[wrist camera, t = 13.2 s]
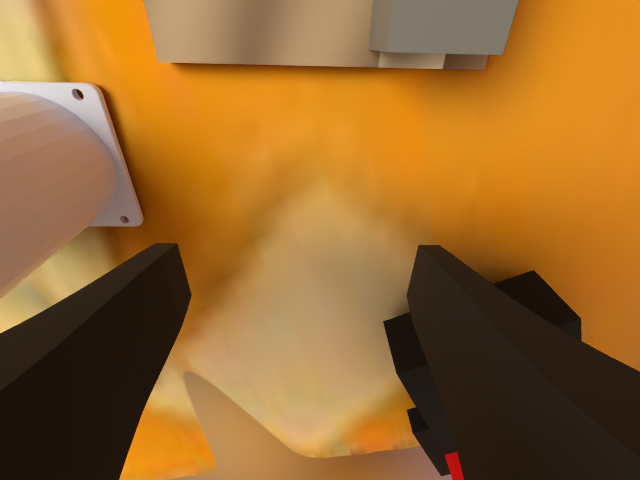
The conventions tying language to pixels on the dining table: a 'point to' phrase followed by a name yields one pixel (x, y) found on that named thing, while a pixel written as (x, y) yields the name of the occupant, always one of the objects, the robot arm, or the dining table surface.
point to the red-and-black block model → (420, 382)
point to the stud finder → (441, 26)
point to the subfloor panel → (281, 35)
